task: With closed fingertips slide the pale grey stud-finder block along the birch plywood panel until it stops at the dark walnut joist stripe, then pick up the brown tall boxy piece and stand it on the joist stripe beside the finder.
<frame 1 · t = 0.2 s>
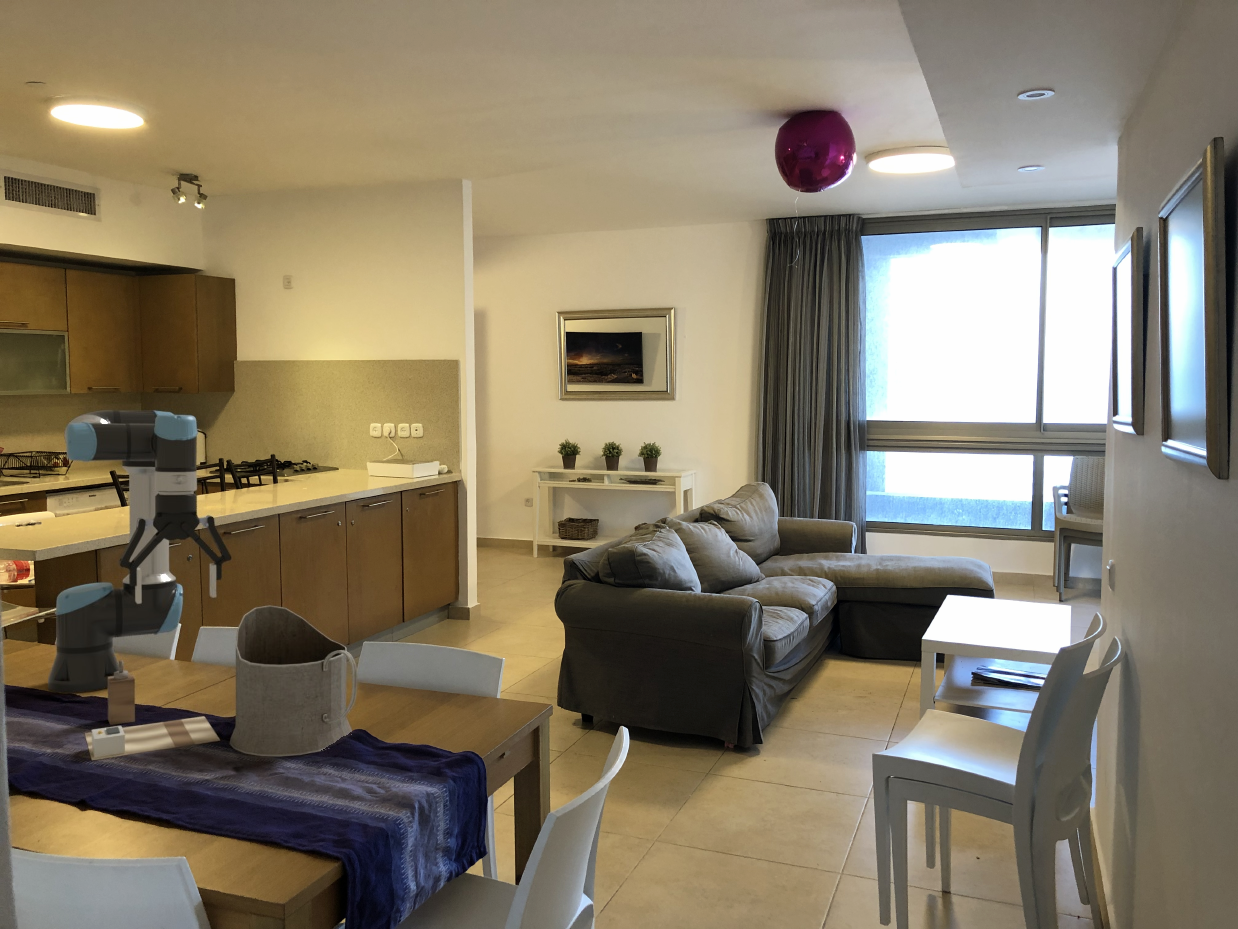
hand: (176, 599, 191), 28 cm above the table, fingers open, 13 cm apart
brown tall boxy piece: (121, 726, 199), on the table
subfloor panel: (152, 742, 189), on the table
finder: (108, 750, 181), point 1 cm above the table, touching subfloor panel
pitcher: (304, 741, 192), on the table
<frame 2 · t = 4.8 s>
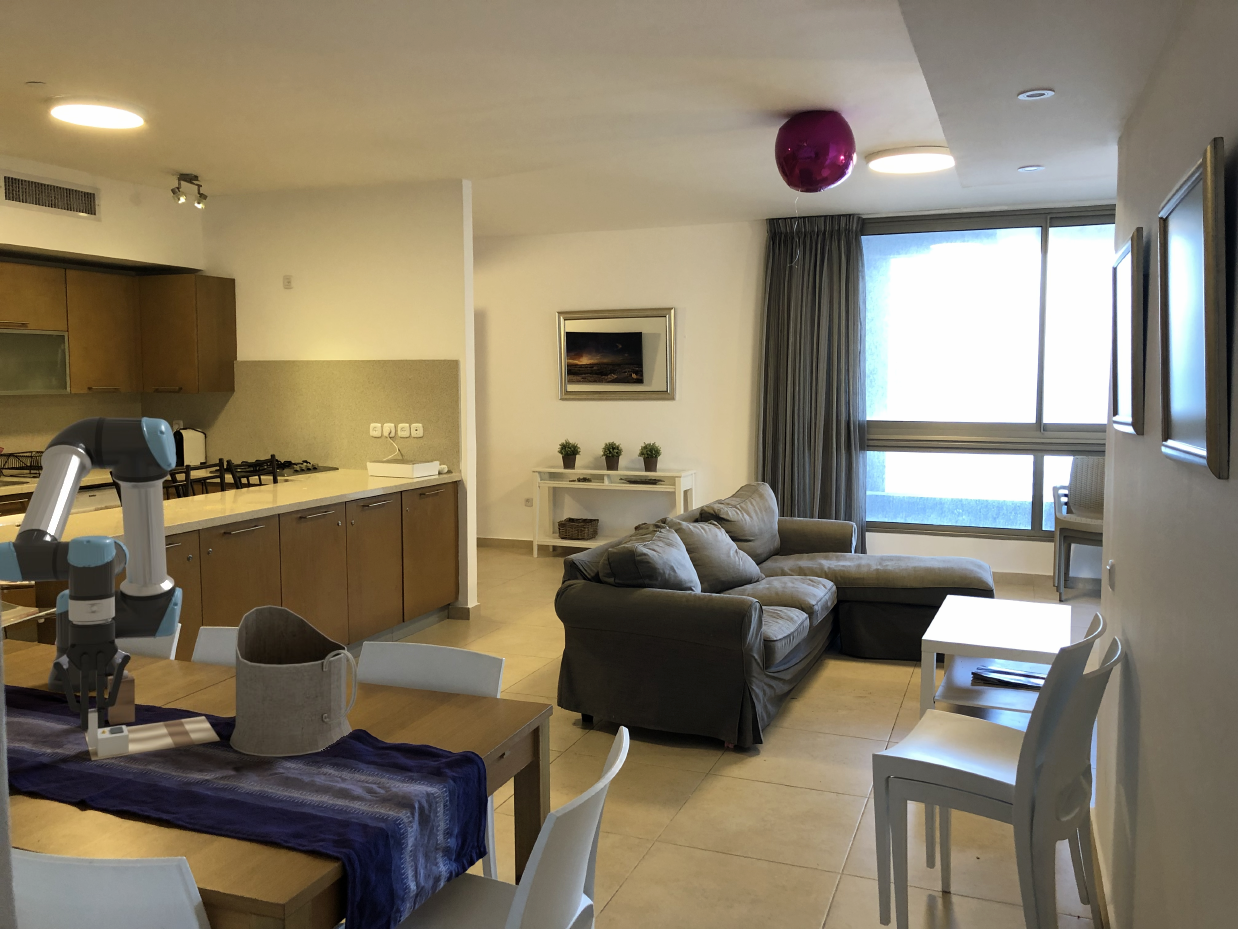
hand: (92, 745, 179), 3 cm above the table, fingers closed
finder: (112, 750, 181), point 1 cm above the table, touching gripper, subfloor panel
everything else where it was.
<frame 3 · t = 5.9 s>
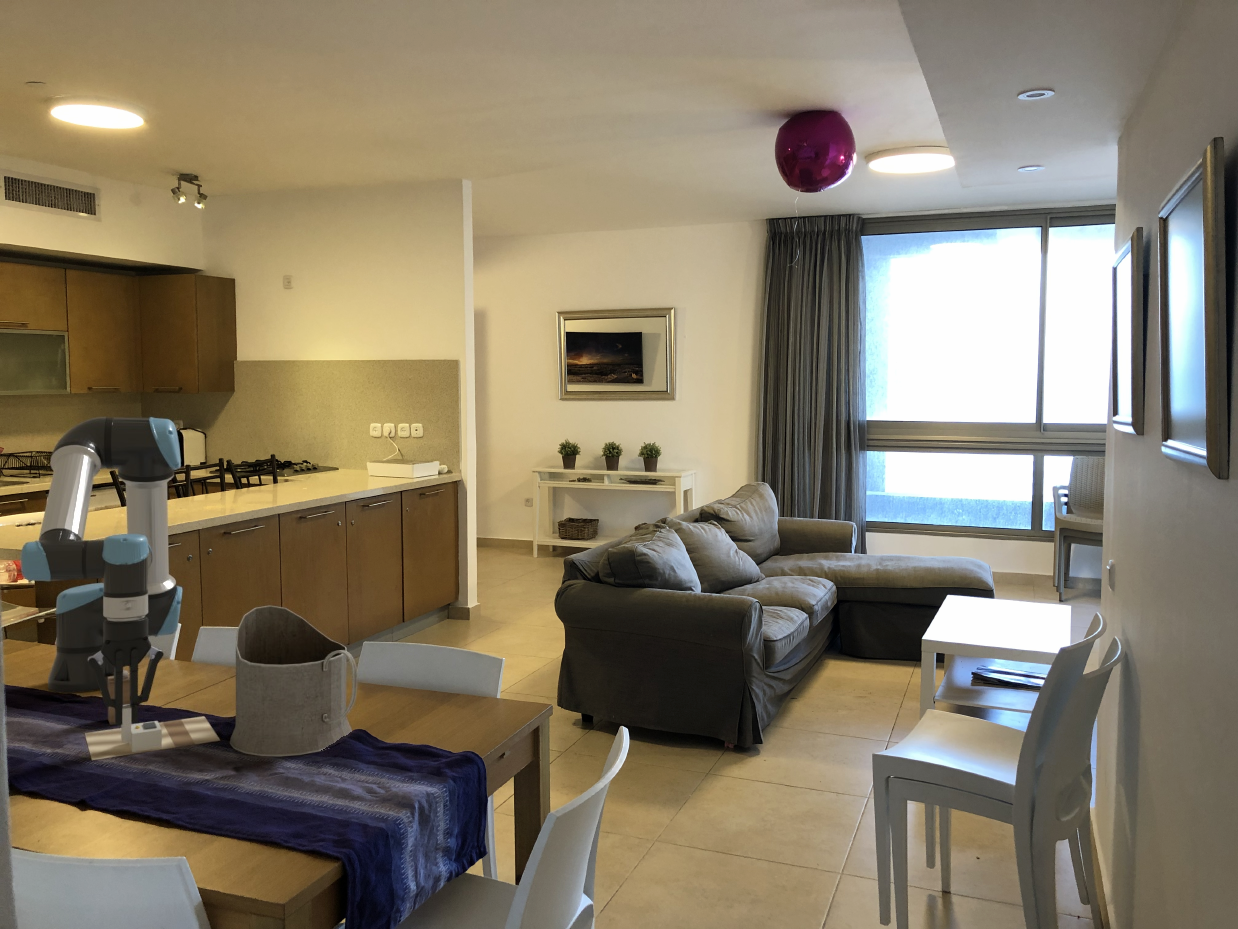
hand: (126, 740, 182), 3 cm above the table, fingers closed
finder: (145, 745, 184), point 1 cm above the table, touching gripper, subfloor panel
everything else where it was.
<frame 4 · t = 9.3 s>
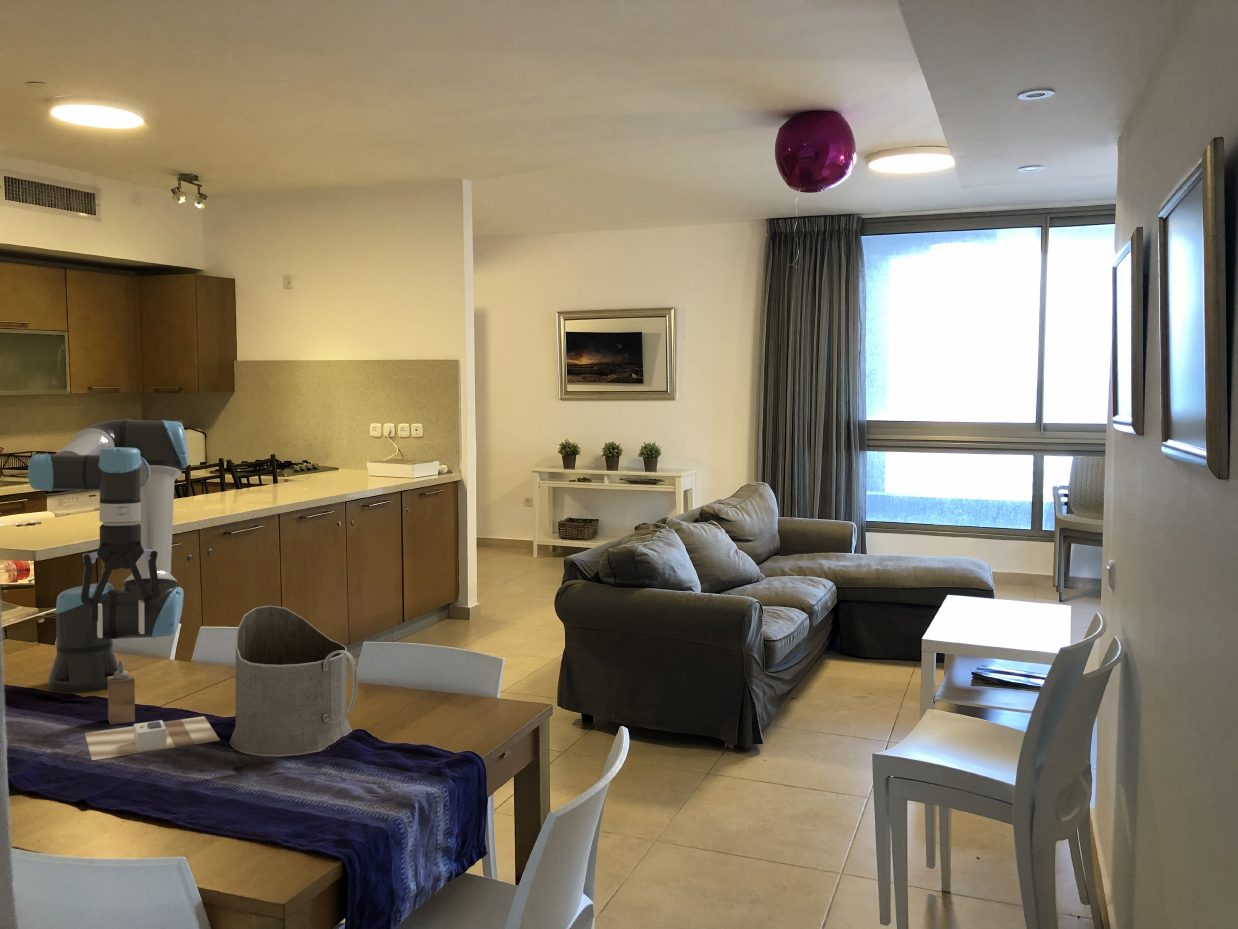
hand: (120, 634, 198), 19 cm above the table, fingers open, 7 cm apart
finder: (150, 744, 185), point 1 cm above the table, touching subfloor panel
everything else where it was.
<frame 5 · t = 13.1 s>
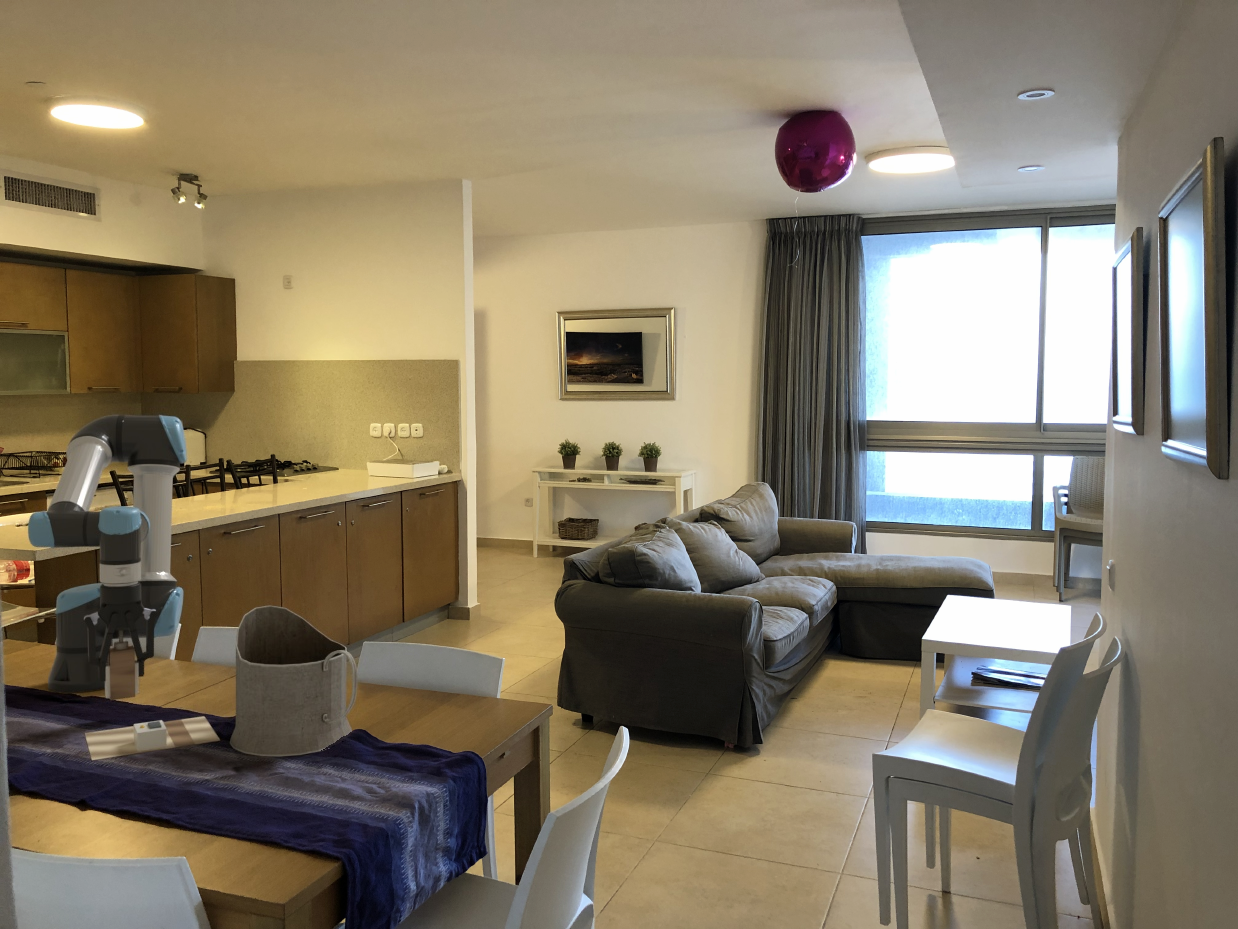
hand: (121, 693, 199), 6 cm above the table, fingers closed on brown tall boxy piece, 4 cm apart
brown tall boxy piece: (121, 695, 199), point 6 cm above the table, touching gripper
everything else where it was.
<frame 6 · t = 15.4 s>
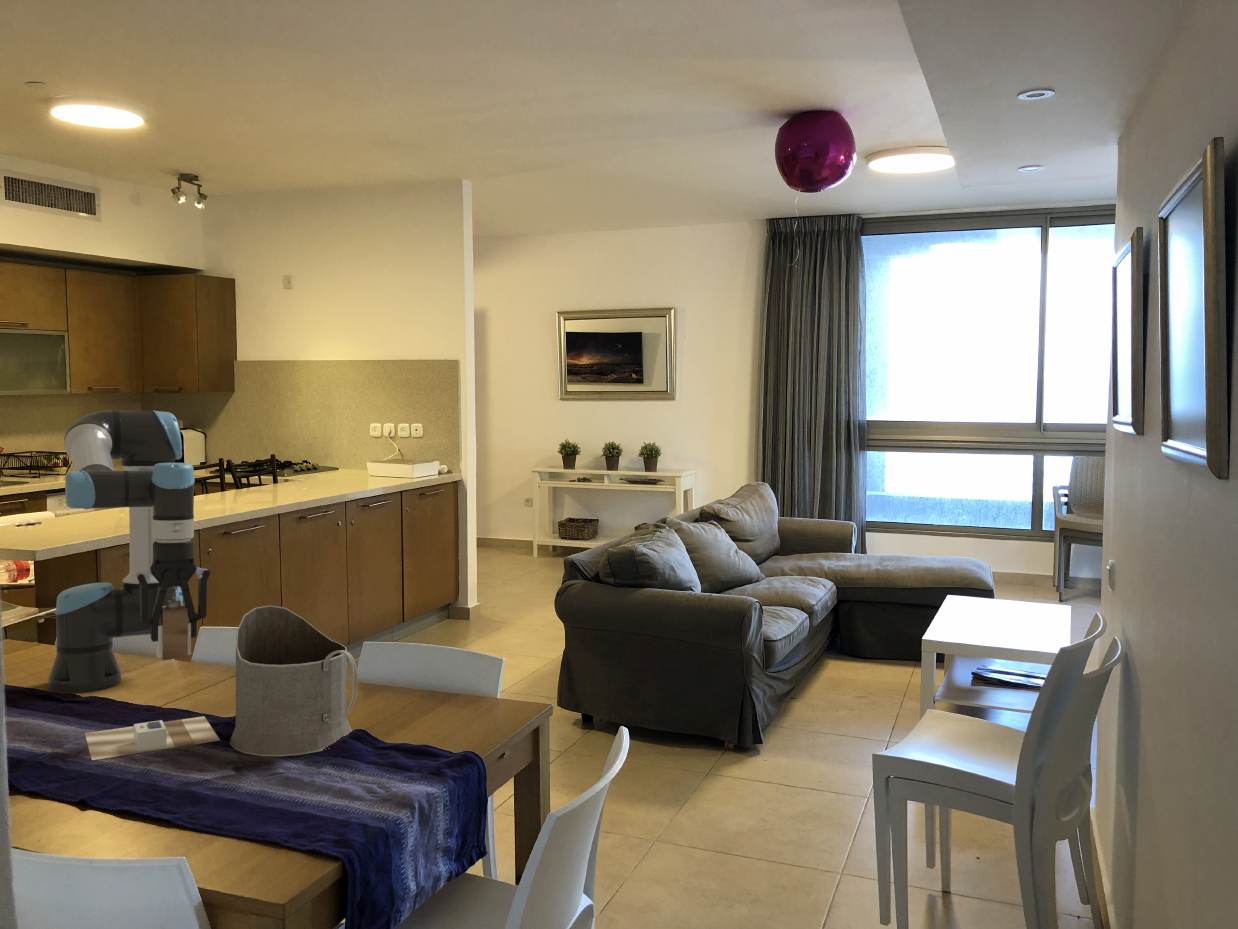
hand: (173, 655, 194), 16 cm above the table, fingers closed on brown tall boxy piece, 4 cm apart
brown tall boxy piece: (173, 656, 194), point 16 cm above the table, touching gripper
everything else where it was.
when the fingers open (2 cm above the table, at t = 17.9 s): brown tall boxy piece stays where it is, resting on subfloor panel.
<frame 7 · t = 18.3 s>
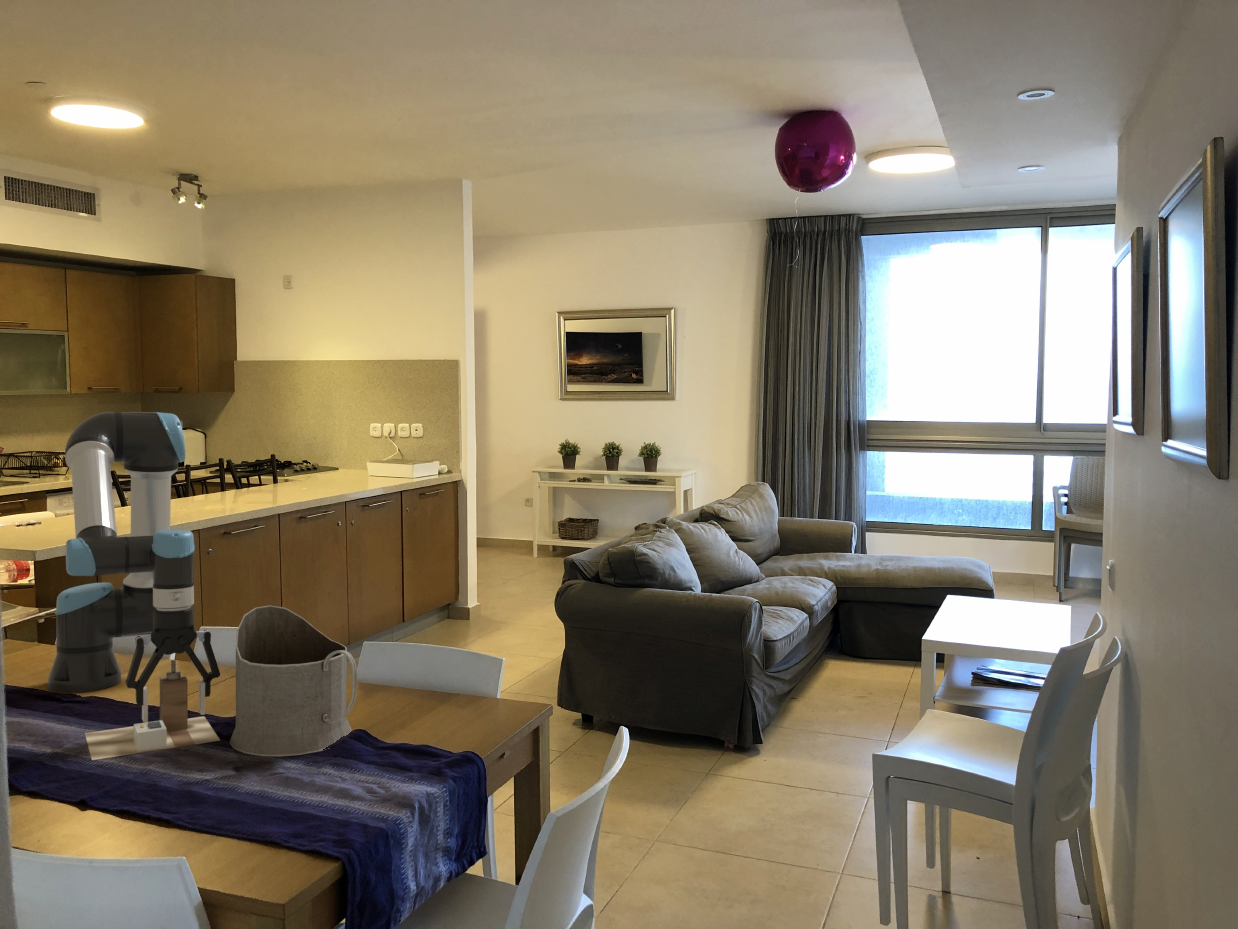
hand: (173, 716, 195), 3 cm above the table, fingers open, 10 cm apart
brown tall boxy piece: (173, 727, 195), point 1 cm above the table, touching subfloor panel
everything else where it was.
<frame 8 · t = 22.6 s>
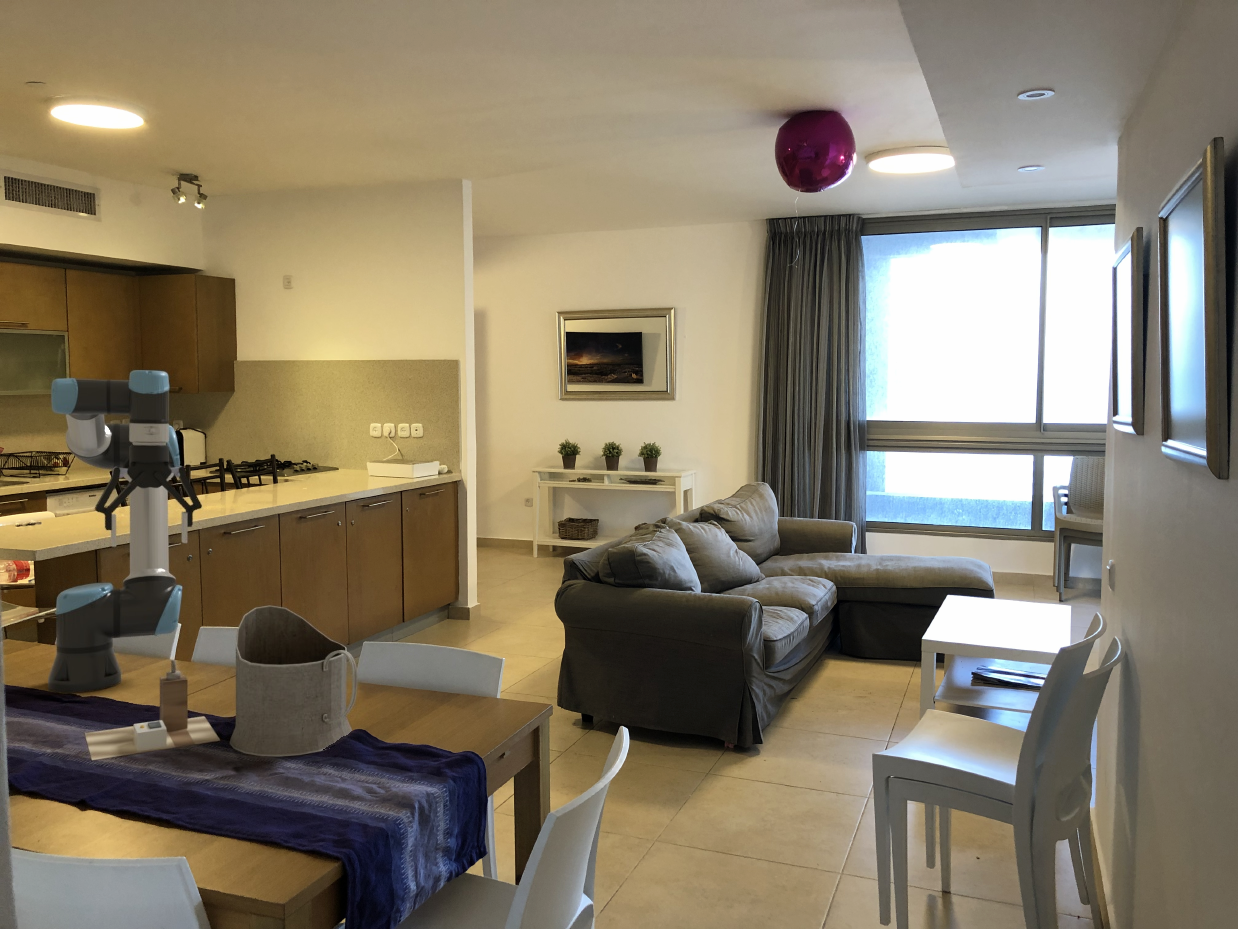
hand: (149, 544, 204), 37 cm above the table, fingers open, 13 cm apart
nothing on the table moved.
at the end: finder inside the target area (1.1 cm from its centre), point 1.2 cm above the table; brown tall boxy piece inside the target area (0.1 cm from its centre), point 1.2 cm above the table; brown tall boxy piece tilted 0° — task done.
